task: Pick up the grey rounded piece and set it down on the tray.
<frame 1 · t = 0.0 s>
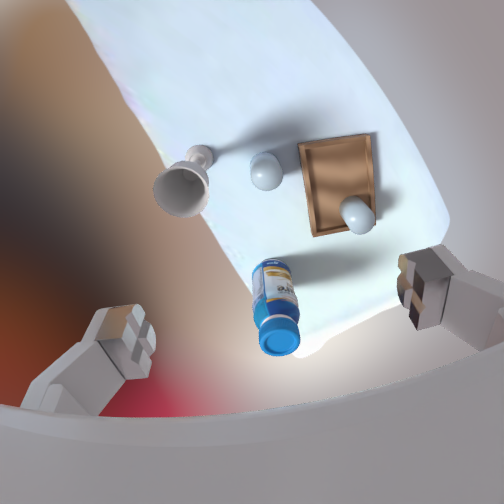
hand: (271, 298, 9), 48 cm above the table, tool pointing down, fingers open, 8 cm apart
tray: (338, 184, 57), on the table
chalice: (199, 158, 54), on the table
beverage bottle: (271, 273, 67), on the table
grey rounded piece: (264, 166, 55), on the table
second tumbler: (351, 208, 59), point 1 cm above the table, touching tray
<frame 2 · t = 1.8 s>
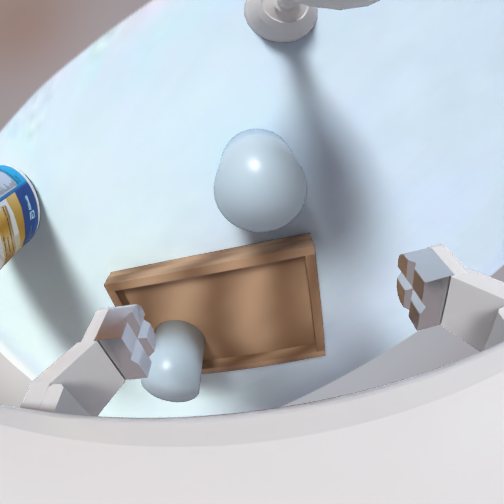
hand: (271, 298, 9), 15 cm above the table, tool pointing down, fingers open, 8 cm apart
tray: (222, 311, 30), on the table
chalice: (280, 10, 17), on the table
beverage bottle: (12, 202, 23), on the table
grey rounded piece: (257, 163, 23), on the table
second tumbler: (179, 338, 30), point 1 cm above the table, touching tray
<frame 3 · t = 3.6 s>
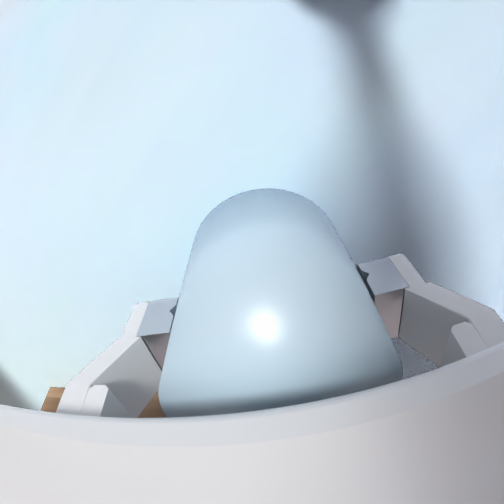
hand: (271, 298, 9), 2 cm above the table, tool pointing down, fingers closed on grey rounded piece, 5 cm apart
tray: (211, 439, 18), on the table
grey rounded piece: (266, 259, 11), on the table, touching gripper
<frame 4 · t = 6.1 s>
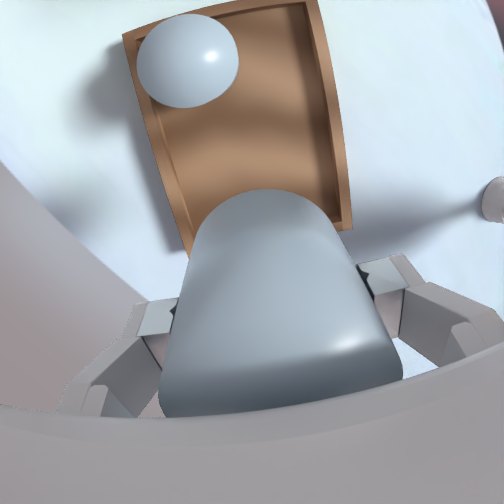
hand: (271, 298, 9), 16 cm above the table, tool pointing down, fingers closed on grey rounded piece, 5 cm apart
tray: (245, 124, 22), on the table
chalice: (496, 199, 25), on the table
grey rounded piece: (266, 259, 11), point 14 cm above the table, touching gripper
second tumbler: (200, 65, 19), point 1 cm above the table, touching tray
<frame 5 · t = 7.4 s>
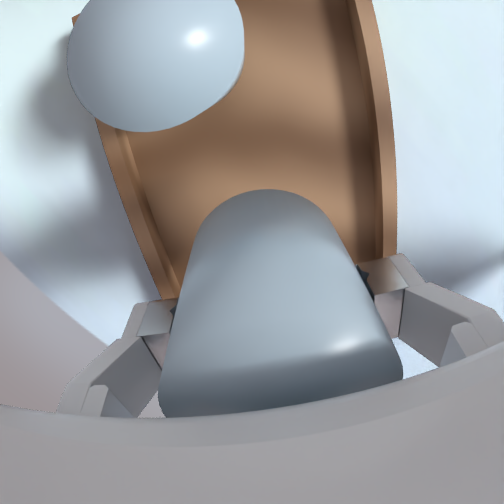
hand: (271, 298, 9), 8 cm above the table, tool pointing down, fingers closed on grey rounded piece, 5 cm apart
tray: (252, 146, 15), on the table
grey rounded piece: (266, 259, 11), point 6 cm above the table, touching gripper
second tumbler: (186, 58, 12), point 1 cm above the table, touching tray
when the fingers open (4 cm above the table, at t = 8.6 s): grey rounded piece drops 1 cm, resting on tray.
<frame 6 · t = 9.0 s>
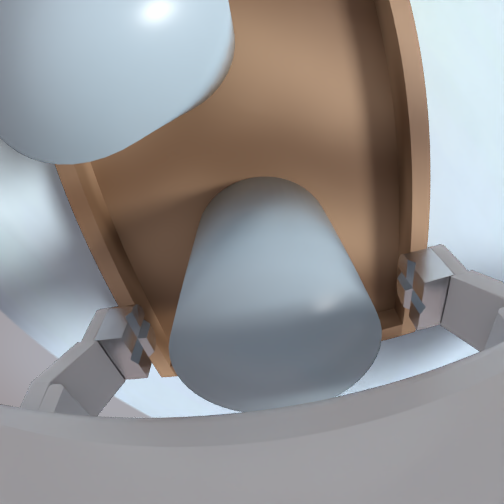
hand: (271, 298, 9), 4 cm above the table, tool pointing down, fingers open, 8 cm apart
tray: (247, 161, 12), on the table
grey rounded piece: (264, 240, 12), point 1 cm above the table, touching tray
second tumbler: (157, 48, 9), point 1 cm above the table, touching tray
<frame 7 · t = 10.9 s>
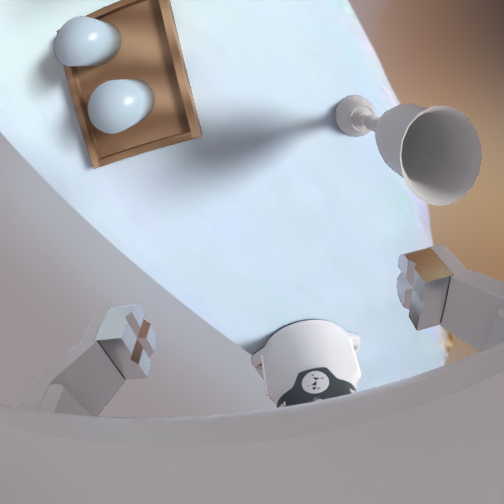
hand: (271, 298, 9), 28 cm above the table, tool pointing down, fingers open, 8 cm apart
tray: (128, 76, 29), on the table
chalice: (355, 115, 33), on the table
grey rounded piece: (132, 101, 30), point 1 cm above the table, touching tray
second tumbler: (100, 44, 26), point 1 cm above the table, touching tray
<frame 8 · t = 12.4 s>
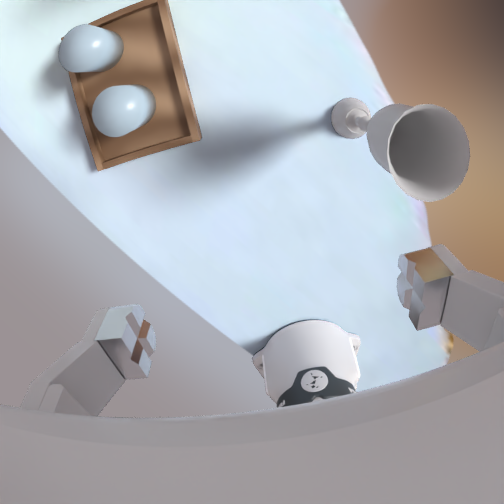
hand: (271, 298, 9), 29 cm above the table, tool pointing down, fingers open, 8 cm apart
tray: (130, 82, 31), on the table
chalice: (351, 118, 34), on the table
grey rounded piece: (134, 106, 31), point 1 cm above the table, touching tray
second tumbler: (103, 51, 28), point 1 cm above the table, touching tray
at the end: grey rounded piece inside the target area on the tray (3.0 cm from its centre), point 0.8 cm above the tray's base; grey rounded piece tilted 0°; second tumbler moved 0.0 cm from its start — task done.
